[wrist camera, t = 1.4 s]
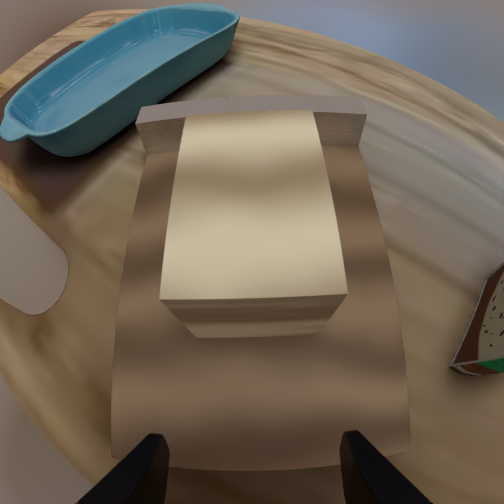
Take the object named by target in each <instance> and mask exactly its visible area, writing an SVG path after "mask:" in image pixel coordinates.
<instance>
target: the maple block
mask: <svg viewBox="0 0 504 504" xmlns="http://www.w3.org/2000/svg"><path fill="white" fill-rule="evenodd" d="M347 294H348V290H347V283H346V276H345V269H344V262H343V256H342V249H341V243H340V237H339V231H338V226H337V220H336V215H335V209H334V204H333V199H332V194H331V189H330V184H329V179H328V174H327V170H326V165H325V161H324V156H323V152H322V147H321V143H320V139H319V135H318V130H317V126H316V122H315V118H314V115H313V111H312V110H261V111H237V112H221V113H208V114H197V115H187V116H186V119H185V124H184V129H183V134H182V139H181V144H180V150H179V155H178V161H177V166H176V172H175V178H174V184H173V191H172V197H171V204H170V211H169V218H168V225H167V233H166V241H165V249H164V258H163V267H162V277H161V287H160V298H159V300H160V301H161V302H162V303H163V304H164V305H165V306H166V307H167V308H168V309H169V310H170V311H171V312H172V313H173V314H174V315H175V316H176V317H177V318H178V319H179V321H180V322H181V323H182V324H183V325H184V326H185V327H186V328H187V329H188V330H189V331H190V332H191V333H192V334H193V335H194V336H195V337H196V338H238V337H274V336H295V335H313V334H319V333H320V331H321V330H322V329H323V327H324V326H325V325H326V323H327V322H328V321H329V319H330V318H331V317H332V315H333V314H334V312H335V311H336V310H337V308H338V307H339V306H340V304H341V303H342V301H343V300H344V299H345V297H346V296H347Z"/></svg>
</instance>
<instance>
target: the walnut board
mask: <svg viewBox="0 0 504 504" xmlns="http://www.w3.org/2000/svg"><path fill="white" fill-rule="evenodd" d="M321 147H322V152H323V156H324V161H325V165H326V170H327V174H328V179H329V184H330V189H331V194H332V199H333V204H334V209H335V215H336V220H337V226H338V231H339V237H340V243H341V249H342V256H343V262H344V269H345V276H346V283H347V290H348V294H347V296H346V297H345V299H344V300H343V301H342V303H341V304H340V306H339V307H338V308H337V310H336V311H335V312H334V314H333V315H332V317H331V318H330V319H329V321H328V322H327V323H326V325H325V326H324V327H323V329H322V330H321V331H320V333H319V334H313V335H295V336H274V337H238V338H196V337H195V336H194V335H193V334H192V333H191V332H190V331H189V330H188V329H187V328H186V327H185V326H184V325H183V324H182V323H181V322H180V321H179V319H178V318H177V317H176V316H175V315H174V314H173V313H172V312H171V311H170V310H169V309H168V308H167V307H166V306H165V305H164V304H163V303H162V302H161V301H160V300H159V298H160V287H161V277H162V267H163V258H164V249H165V241H166V233H167V225H168V218H169V211H170V204H171V197H172V191H173V184H174V178H175V172H176V166H177V161H178V155H179V151H174V152H164V153H155V154H147V158H146V162H145V166H144V170H143V174H142V178H141V182H140V186H139V191H138V195H137V200H136V204H135V209H134V214H133V219H132V224H131V229H130V234H129V239H128V245H127V251H126V257H125V263H124V269H123V276H122V283H121V290H120V298H119V306H118V314H117V324H116V334H115V345H114V359H113V375H112V399H111V452H112V458H117V459H123V458H124V457H125V456H126V455H127V454H129V453H130V452H131V451H132V450H133V449H134V448H135V447H136V446H137V445H138V444H139V443H140V442H141V441H142V440H143V439H144V438H145V437H146V436H147V435H148V434H149V433H158V434H163V435H164V437H165V440H166V442H167V445H168V447H169V451H170V458H169V467H176V468H186V469H198V470H216V471H277V470H294V469H306V468H317V467H325V466H333V465H341V463H340V455H339V447H340V443H341V440H342V436H343V433H344V432H345V431H350V430H358V431H360V432H361V433H362V434H363V435H364V436H365V437H366V438H367V439H368V441H369V442H370V443H371V444H372V445H373V446H374V447H375V448H376V449H377V450H378V451H379V452H380V453H381V454H382V455H383V456H384V457H385V456H390V455H394V454H399V453H403V452H407V451H410V421H409V402H408V388H407V376H406V366H405V356H404V348H403V340H402V333H401V325H400V319H399V312H398V306H397V300H396V294H395V289H394V283H393V278H392V273H391V268H390V263H389V258H388V254H387V249H386V245H385V240H384V236H383V232H382V228H381V224H380V220H379V216H378V212H377V208H376V204H375V201H374V197H373V194H372V190H371V186H370V183H369V180H368V176H367V173H366V170H365V166H364V163H363V160H362V157H361V154H360V151H359V148H358V146H337V145H321Z"/></svg>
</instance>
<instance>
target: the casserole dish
mask: <svg viewBox="0 0 504 504" xmlns="http://www.w3.org/2000/svg"><path fill="white" fill-rule="evenodd" d="M239 19H240V15H239V14H238V13H236V12H234V11H231V10H228V9H225V8H224V7H223V6H221V5H217V4H208V3H190V4H182V5H172V6H163V7H158V8H154V9H151V10H147V11H144V12H142V13H139V14H137V15H134V16H132V17H130V18H127V19H125V20H123V21H121V22H119V23H117V24H115V25H113V26H112V27H110V28H108V29H106V30H104V31H102V32H101V33H99V34H97V35H95V36H94V37H92V38H90V39H88V40H87V41H85V42H84V43H82V44H80V45H79V46H77V47H75V48H74V49H72V50H71V51H69V52H68V53H66V54H65V55H63V56H62V57H60V58H59V59H57V60H56V61H54V62H53V63H52V64H50V65H49V66H47V67H46V68H45V69H43V70H42V71H41V72H39V73H38V74H37V75H36V76H34V77H33V78H32V79H31V80H29V81H28V82H27V83H26V84H25V85H24V86H22V87H21V88H20V89H19V90H18V91H17V92H16V93H15V94H14V96H13V97H12V98H11V99H10V100H9V102H8V104H7V105H6V107H5V112H4V115H5V116H4V119H3V121H2V124H1V127H0V135H1V137H2V138H3V139H4V140H6V141H7V142H11V143H13V142H18V141H20V140H23V139H25V138H27V137H29V138H30V139H31V140H33V141H34V142H35V143H37V144H38V145H40V146H41V147H43V148H44V149H46V150H47V151H49V152H51V153H53V154H56V155H58V156H64V157H73V156H77V155H78V156H79V155H83V154H87V153H89V152H91V151H93V150H94V149H96V148H98V147H99V146H101V145H102V144H103V143H105V142H106V141H108V140H109V139H110V138H112V137H113V136H114V135H116V134H117V133H118V132H120V131H121V130H122V129H124V128H125V127H126V126H128V125H129V124H130V123H132V122H133V121H134V120H135V119H137V118H138V115H139V112H140V110H141V107H145V106H151V105H155V104H157V103H158V102H159V101H161V100H162V99H163V98H165V97H166V96H167V95H169V94H171V93H172V92H174V91H175V90H176V89H178V88H179V87H181V86H182V85H184V84H185V83H187V82H188V81H190V80H191V79H193V78H194V77H196V76H197V75H199V74H200V73H202V72H203V71H205V70H206V69H208V68H209V67H211V66H212V65H213V64H215V63H216V62H217V61H219V60H220V59H221V58H222V57H223V56H224V55H225V54H226V53H227V51H228V50H229V48H230V45H231V43H232V40H233V38H234V35H235V31H236V28H237V25H238V22H239Z"/></svg>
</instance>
